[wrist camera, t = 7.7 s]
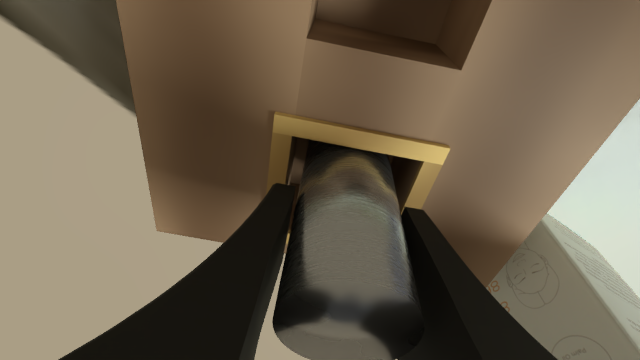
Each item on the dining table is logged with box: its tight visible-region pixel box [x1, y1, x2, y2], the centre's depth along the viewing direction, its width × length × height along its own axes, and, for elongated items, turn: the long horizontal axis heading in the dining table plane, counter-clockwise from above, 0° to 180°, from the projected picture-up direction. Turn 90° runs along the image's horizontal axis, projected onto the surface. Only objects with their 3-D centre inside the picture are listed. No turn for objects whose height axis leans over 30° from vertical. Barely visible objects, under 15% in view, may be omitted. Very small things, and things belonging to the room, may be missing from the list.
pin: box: [273, 139, 424, 360], centre depth 10 cm, size 3×3×8 cm
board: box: [116, 0, 640, 288], centre depth 11 cm, size 14×14×4 cm
